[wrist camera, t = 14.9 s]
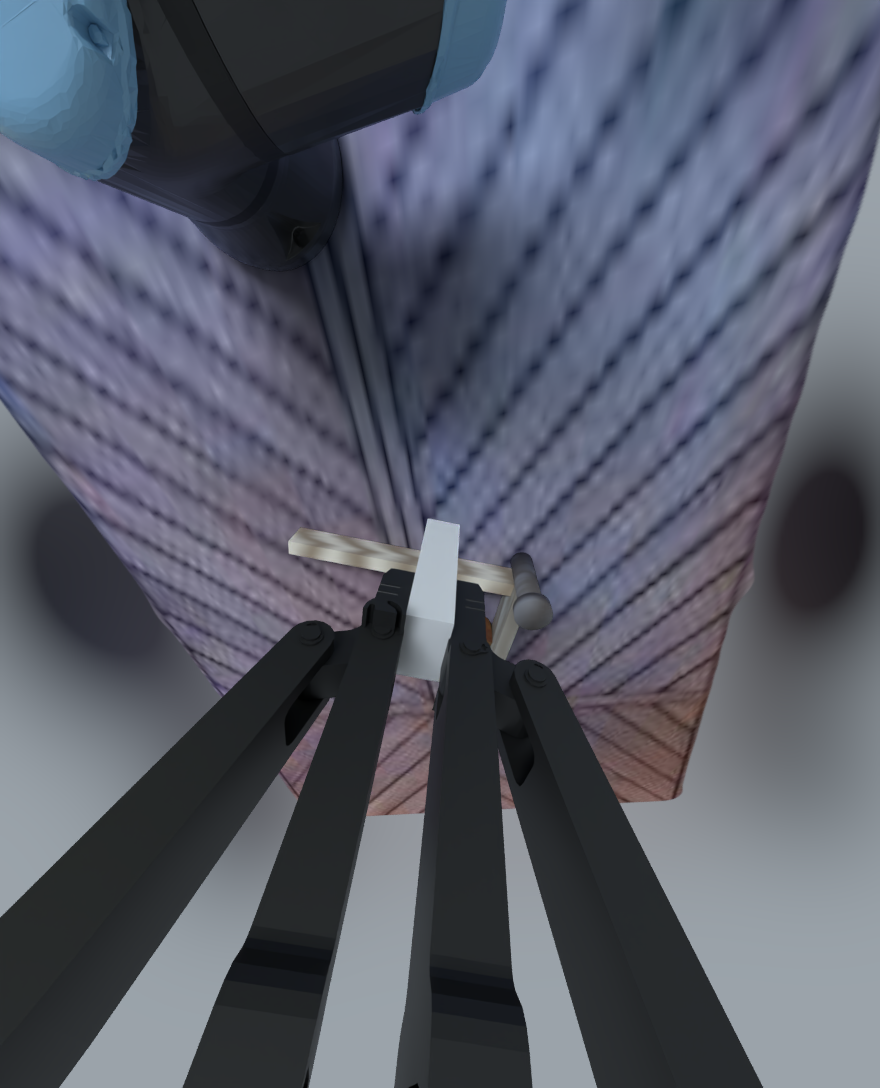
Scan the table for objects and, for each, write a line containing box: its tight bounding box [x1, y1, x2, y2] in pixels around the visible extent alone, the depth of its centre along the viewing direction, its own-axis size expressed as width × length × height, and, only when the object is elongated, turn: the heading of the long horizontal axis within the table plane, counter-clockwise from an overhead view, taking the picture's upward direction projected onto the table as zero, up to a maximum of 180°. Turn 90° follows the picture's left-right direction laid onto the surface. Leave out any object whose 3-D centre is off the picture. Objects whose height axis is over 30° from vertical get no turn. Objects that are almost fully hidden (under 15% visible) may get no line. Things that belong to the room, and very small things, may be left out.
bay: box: [288, 527, 553, 681], centre depth 52 cm, size 34×26×12 cm
